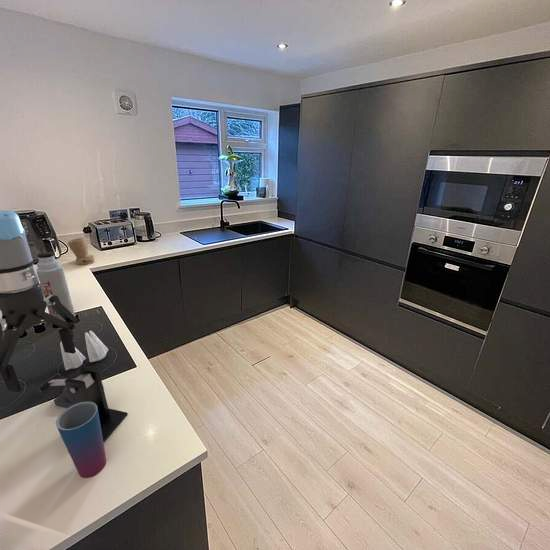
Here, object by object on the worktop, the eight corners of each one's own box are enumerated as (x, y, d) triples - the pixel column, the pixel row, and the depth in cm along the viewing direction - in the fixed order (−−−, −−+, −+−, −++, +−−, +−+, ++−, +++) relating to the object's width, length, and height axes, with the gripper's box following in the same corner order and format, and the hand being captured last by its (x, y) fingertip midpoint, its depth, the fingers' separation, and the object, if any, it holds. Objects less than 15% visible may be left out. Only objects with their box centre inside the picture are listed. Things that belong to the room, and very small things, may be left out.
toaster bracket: (61, 437, 68) (43, 384, 62) (91, 407, 76) (78, 358, 70) (101, 447, 66) (86, 393, 60) (128, 415, 74) (117, 366, 68)
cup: (85, 453, 64) (69, 401, 59) (116, 451, 65) (103, 400, 59) (66, 484, 58) (47, 430, 53) (101, 483, 59) (86, 429, 53)
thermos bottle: (61, 325, 112) (42, 258, 102) (46, 322, 115) (26, 255, 104) (80, 316, 120) (63, 252, 109) (66, 313, 122) (48, 249, 111)
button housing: (55, 406, 76) (51, 394, 75) (80, 385, 84) (77, 374, 82) (80, 412, 75) (77, 400, 73) (104, 390, 82) (101, 379, 80)
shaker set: (109, 353, 97) (102, 325, 93) (109, 360, 94) (102, 331, 90) (66, 364, 92) (57, 334, 88) (65, 372, 88) (56, 341, 84)
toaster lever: (39, 394, 67) (34, 386, 67) (58, 379, 72) (54, 372, 71) (81, 393, 64) (76, 384, 63) (99, 377, 68) (94, 369, 67)
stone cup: (73, 259, 185) (67, 237, 179) (94, 257, 190) (90, 235, 185) (71, 267, 172) (65, 242, 167) (94, 264, 178) (89, 240, 172)
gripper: (-43, 318, 48) (-1, 414, 55) (82, 268, 70) (99, 341, 78) (-76, 313, 49) (-30, 407, 57) (56, 265, 72) (76, 337, 80)
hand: (45, 369), depth 67 cm, fingers open, 13 cm apart
